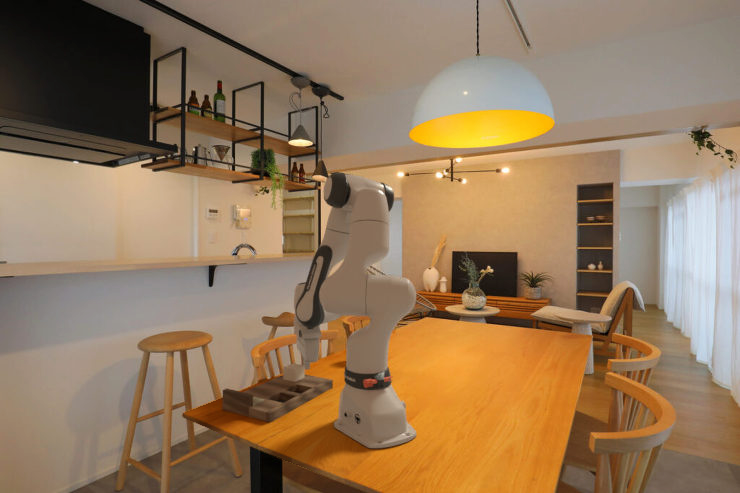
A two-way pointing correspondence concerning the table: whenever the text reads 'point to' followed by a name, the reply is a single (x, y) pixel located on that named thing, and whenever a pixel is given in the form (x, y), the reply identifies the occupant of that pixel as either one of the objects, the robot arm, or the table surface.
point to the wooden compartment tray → (274, 397)
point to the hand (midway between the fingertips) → (306, 368)
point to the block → (293, 372)
